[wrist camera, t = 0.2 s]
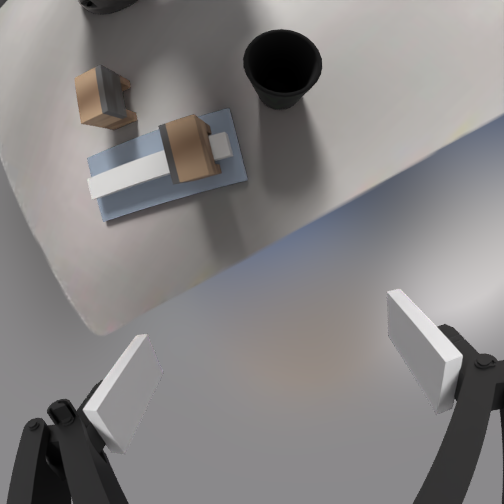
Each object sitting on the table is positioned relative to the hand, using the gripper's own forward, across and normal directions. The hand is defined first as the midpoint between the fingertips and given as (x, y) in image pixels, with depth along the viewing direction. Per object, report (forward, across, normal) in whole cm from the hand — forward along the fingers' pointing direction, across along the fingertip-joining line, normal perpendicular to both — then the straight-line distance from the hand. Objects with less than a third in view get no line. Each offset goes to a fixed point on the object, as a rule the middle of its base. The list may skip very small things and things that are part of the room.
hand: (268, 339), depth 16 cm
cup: (+28, +5, +19) cm, 34 cm away
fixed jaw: (+27, -6, +12) cm, 30 cm away
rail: (+28, -12, +12) cm, 33 cm away
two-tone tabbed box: (+28, -17, +23) cm, 40 cm away
